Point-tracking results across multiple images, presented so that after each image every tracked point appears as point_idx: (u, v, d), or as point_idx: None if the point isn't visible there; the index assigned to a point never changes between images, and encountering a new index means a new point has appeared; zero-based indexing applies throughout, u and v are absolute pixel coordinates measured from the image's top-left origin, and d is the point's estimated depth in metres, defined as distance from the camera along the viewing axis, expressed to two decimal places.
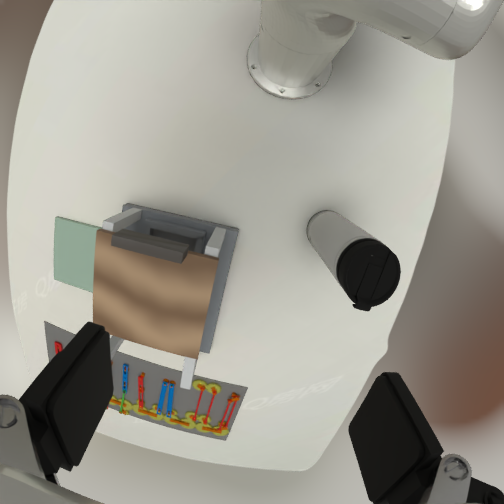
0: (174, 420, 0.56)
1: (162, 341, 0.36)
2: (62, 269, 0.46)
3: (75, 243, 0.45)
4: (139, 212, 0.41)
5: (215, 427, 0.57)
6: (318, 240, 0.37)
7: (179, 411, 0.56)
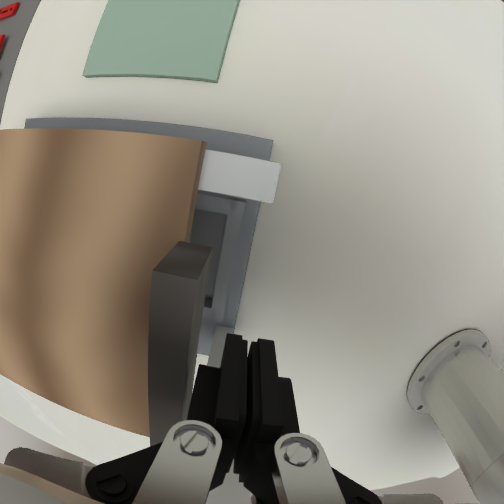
0: None
1: None
2: None
3: (185, 22, 0.18)
4: None
5: None
6: None
7: None
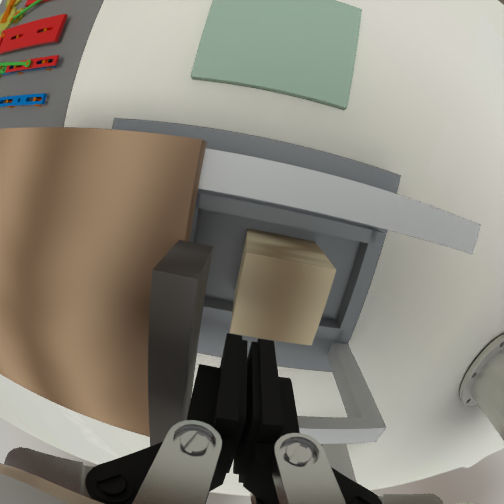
0: None
1: None
2: (246, 0, 0.17)
3: (311, 40, 0.18)
4: None
5: None
6: None
7: None
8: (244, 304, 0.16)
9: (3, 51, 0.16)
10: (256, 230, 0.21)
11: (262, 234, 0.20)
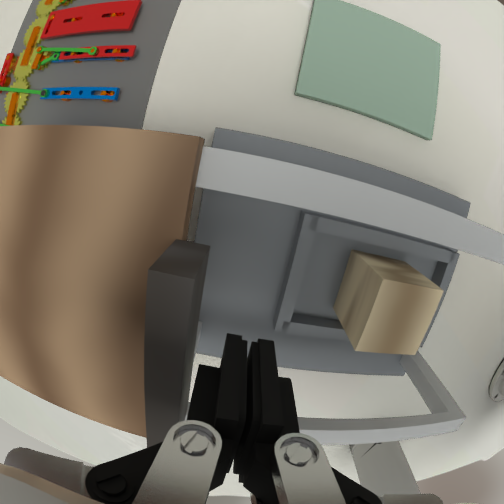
0: None
1: None
2: (344, 20, 0.17)
3: (403, 71, 0.18)
4: None
5: None
6: (399, 471, 0.23)
7: None
8: (373, 324, 0.17)
9: (54, 35, 0.16)
10: (360, 252, 0.21)
11: (368, 256, 0.20)
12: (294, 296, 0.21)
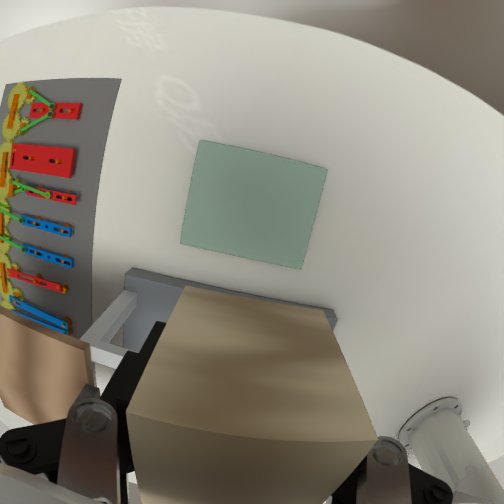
0: None
1: (0, 383, 0.20)
2: (222, 168, 0.26)
3: (276, 211, 0.27)
4: None
5: None
6: None
7: None
8: (156, 484, 0.05)
9: (18, 169, 0.25)
10: (201, 292, 0.10)
11: (210, 306, 0.09)
12: None
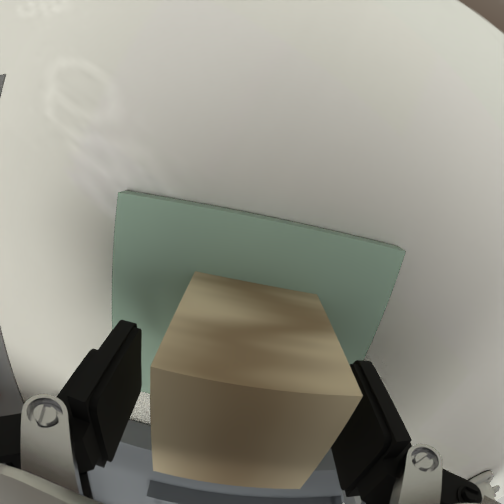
0: None
1: None
2: (172, 257, 0.11)
3: None
4: None
5: None
6: None
7: None
8: (168, 444, 0.07)
9: None
10: (209, 277, 0.11)
11: (217, 288, 0.11)
12: None
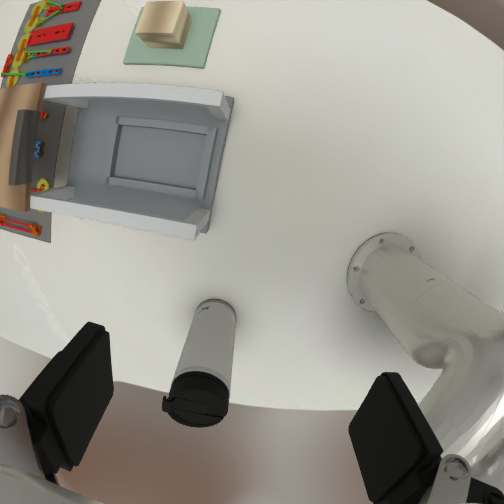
0: None
1: None
2: None
3: None
4: (224, 119, 0.33)
5: None
6: (210, 327, 0.36)
7: None
8: (143, 19, 0.26)
9: (32, 44, 0.29)
10: None
11: None
12: (110, 160, 0.34)
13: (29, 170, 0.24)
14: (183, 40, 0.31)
